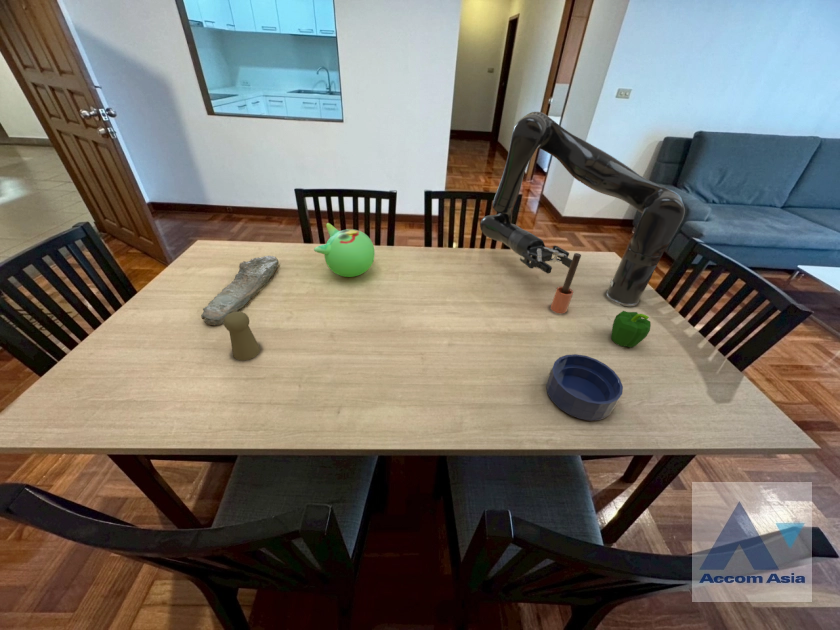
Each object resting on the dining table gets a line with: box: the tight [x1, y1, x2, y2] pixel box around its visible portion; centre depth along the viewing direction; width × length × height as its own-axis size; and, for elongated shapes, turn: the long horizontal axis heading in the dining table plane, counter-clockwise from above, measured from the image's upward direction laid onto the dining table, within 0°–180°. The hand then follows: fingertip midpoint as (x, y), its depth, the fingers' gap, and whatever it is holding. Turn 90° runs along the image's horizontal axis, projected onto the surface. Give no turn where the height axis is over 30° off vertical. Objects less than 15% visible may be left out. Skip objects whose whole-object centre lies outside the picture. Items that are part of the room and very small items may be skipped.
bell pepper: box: [610, 310, 652, 348], centre depth 92 cm, size 8×8×10 cm
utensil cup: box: [550, 285, 574, 314], centre depth 104 cm, size 5×5×7 cm
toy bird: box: [313, 222, 376, 278], centre depth 113 cm, size 18×17×15 cm
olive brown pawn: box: [223, 310, 261, 361], centre depth 82 cm, size 6×6×11 cm
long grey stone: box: [200, 255, 280, 326], centre depth 105 cm, size 35×5×10 cm
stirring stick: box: [561, 252, 582, 294], centre depth 100 cm, size 2×2×18 cm
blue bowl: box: [545, 353, 624, 422], centre depth 78 cm, size 14×14×6 cm
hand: (561, 268), depth 101 cm, fingers open, 8 cm apart
